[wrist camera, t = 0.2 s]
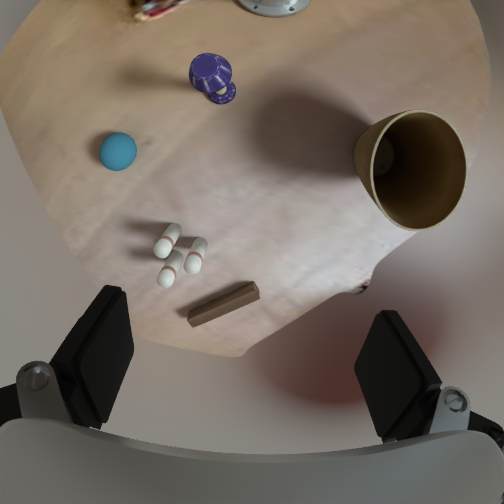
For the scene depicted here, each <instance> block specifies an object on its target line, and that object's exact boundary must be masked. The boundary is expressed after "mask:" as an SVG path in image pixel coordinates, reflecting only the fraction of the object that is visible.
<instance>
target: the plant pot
mask: <svg viewBox="0 0 504 504" xmlns="http://www.w3.org/2000/svg"><path fill="white" fill-rule="evenodd" d="M379 141H381V142H380V143H379ZM354 162H355V166H356V170H357V172H358V175H359V177H360V179H361V182H362V183H363V185H364V187H365V189H366V191H367V192H368V194H369V195H370V197H371V198H372V199H373V201H374V202H375V204H376V205H377V206H378V208H379V209H380V210H381V211H382V213H383V214H384V215H385V216H386V217H387V218H388V219H389V220H390V221H391V222H392V223H393V224H395V225H396V226H398V227H400V228H403V229H405V230H409V231H425V230H429V229H432V228H434V227H436V226H438V225H440V224H441V223H443V222H444V221H445V220H446V219H448V218H449V217H450V215H451V214H452V213H453V212H454V211H455V209H456V208H457V206H458V205H459V203H460V201H461V199H462V196H463V193H464V190H465V186H466V182H467V174H468V163H467V156H466V151H465V147H464V144H463V142H462V139H461V137H460V135H459V134H458V132H457V131H456V129H455V128H454V127H453V125H452V124H451V123H450V122H449V121H448V120H446V119H445V118H444V117H442V116H441V115H439V114H437V113H435V112H432V111H429V110H423V109H415V110H410V111H405V112H402V113H398V114H395V115H392V116H390V117H387V118H385V119H383V120H381V121H379V122H377V123H376V124H374V125H373V126H371V127H370V128H369V129H367V130H366V131H365V132H364V133H363V134H362V135H361V136H360V138H359V139H358V141H357V143H356V145H355V148H354ZM382 165H383V168H382Z"/></svg>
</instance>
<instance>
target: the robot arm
mask: <svg viewBox="0 0 504 504" xmlns="http://www.w3.org/2000/svg"><path fill="white" fill-rule="evenodd" d="M238 1H239V3H240V4H241V5H243V6H244V7H245V8H246V9H248V10H250V11H251V12H254V13H256V14H259V15H263V16H268V17H286V16H290V15H294V14H296V13H298V12H300V11H302V10H303V9H305V8H306V7H307V5H308V4H309V3H310V1H311V0H238ZM254 8H257V9H254ZM289 10H292V11H289ZM133 353H134V343H133V338H132V332H131V326H130V319H129V312H128V305H127V298H126V293H125V292H124V291H122V289H121V287H117V286H111V285H105V286H104V287H103V288H102V290H101V291H100V292H99V294H98V295H97V296H96V298H95V299H94V300H93V302H92V303H91V305H90V306H89V307H88V309H87V310H86V311H85V313H84V314H83V316H82V317H80V318H79V319H78V321H77V322H76V324H75V325H74V327H73V328H72V329H71V331H70V332H69V334H68V335H67V337H66V338H65V340H64V341H63V343H62V344H61V346H60V347H59V349H58V350H57V352H56V353H55V355H54V356H53V358H52V359H51V361H50V363H49V364H48V363H46V362H43V361H32V362H30V363H27V364H25V365H24V366H23V367H21V369H20V370H19V371H18V374H17V376H16V383H15V384H12V385H9V386H5V387H2V388H0V504H504V431H503V429H502V427H501V426H500V425H498V424H497V423H495V422H493V421H491V420H489V419H487V418H485V417H483V416H481V415H478V414H476V413H474V412H472V411H470V400H469V398H468V396H467V395H466V394H465V393H464V392H463V391H462V390H460V389H459V388H456V387H451V386H450V387H445V388H444V389H442V390H441V389H440V385H441V384H442V381H441V380H440V378H439V376H438V374H437V373H436V371H435V370H434V368H433V366H432V365H431V363H430V361H429V360H428V358H427V357H426V355H425V353H424V352H423V350H422V349H421V347H420V346H419V344H418V343H417V341H416V339H415V338H414V336H413V335H412V333H411V332H410V330H409V329H408V327H407V326H406V324H405V323H404V321H403V320H402V318H401V317H400V315H399V314H398V313H397V311H394V310H382V311H381V312H380V313H379V314H377V315H376V316H375V319H374V321H373V323H372V326H371V328H370V331H369V333H368V335H367V338H366V340H365V342H364V345H363V347H362V349H361V351H360V353H359V356H358V358H357V360H356V362H355V366H354V370H355V373H356V376H357V379H358V381H359V384H360V387H361V389H362V392H363V395H364V398H365V401H366V404H367V406H368V409H369V412H370V415H371V418H372V421H373V424H374V426H375V430H376V432H377V435H378V436H379V437H381V438H382V441H383V444H381V445H375V446H369V447H363V448H356V449H348V450H340V451H331V452H320V453H304V454H271V455H270V454H237V453H222V452H210V451H201V450H192V449H185V448H178V447H172V446H166V445H159V444H155V443H149V442H144V441H140V440H135V439H130V438H126V437H122V436H118V435H114V434H109V433H106V432H102V431H99V430H100V428H101V426H102V423H106V422H107V421H108V419H109V416H110V413H111V410H112V407H113V404H114V402H115V399H116V397H117V394H118V391H119V389H120V386H121V384H122V381H123V378H124V376H125V374H126V371H127V369H128V366H129V364H130V361H131V359H132V356H133ZM89 426H90V427H93V428H96V429H99V430H95V429H91V428H89ZM396 440H397V441H396ZM394 441H396V442H394ZM389 442H391V443H389ZM384 443H386V444H384Z"/></svg>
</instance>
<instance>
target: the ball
mask: <svg viewBox="0 0 504 504" xmlns="http://www.w3.org/2000/svg"><path fill="white" fill-rule="evenodd" d="M136 152H137V148H136V144H135V142H134V140H133V139H132V138H131V137H130V136H129V135H127V134H125V133H114V134H111V135H110V136H108V137H107V138H106V139H105V140H104V141H103V142H102V144H101V147H100V151H99V156H100V160H101V162H102V164H103V165H104V166H105V167H106V168H108V169H110V170H113V171H120V170H123V169H126V168H127V167H129V166H130V165H131V164H132V162H133V161H134V159H135V157H136Z"/></svg>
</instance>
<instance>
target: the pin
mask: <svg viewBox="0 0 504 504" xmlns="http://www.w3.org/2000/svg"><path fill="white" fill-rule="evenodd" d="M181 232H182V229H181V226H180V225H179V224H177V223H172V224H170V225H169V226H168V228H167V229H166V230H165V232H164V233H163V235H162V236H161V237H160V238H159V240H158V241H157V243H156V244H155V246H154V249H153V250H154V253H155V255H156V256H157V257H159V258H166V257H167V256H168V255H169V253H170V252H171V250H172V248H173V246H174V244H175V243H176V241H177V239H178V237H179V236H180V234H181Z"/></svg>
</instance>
